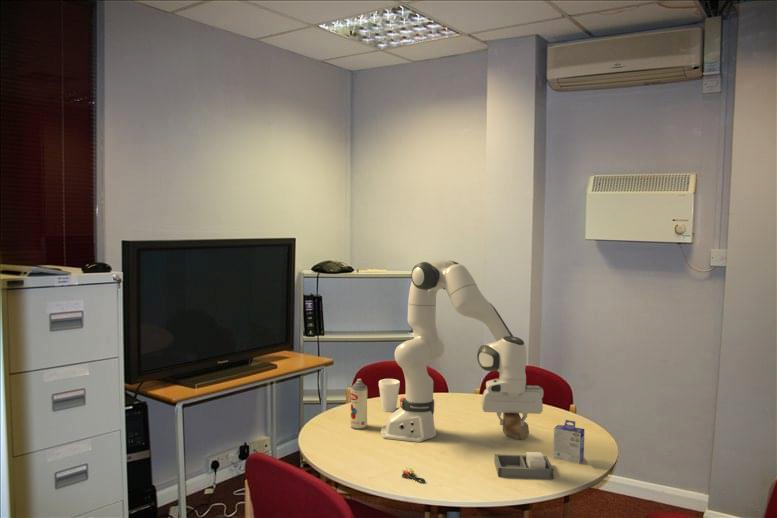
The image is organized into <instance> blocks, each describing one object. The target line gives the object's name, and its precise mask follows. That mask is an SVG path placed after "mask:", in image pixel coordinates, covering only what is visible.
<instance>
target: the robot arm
mask: <svg viewBox="0 0 777 518" xmlns="http://www.w3.org/2000/svg"><path fill="white" fill-rule="evenodd" d="M410 278H411V283H410V287H409V291H408V292H409V293H408V302H407V323H408V325H409V326H410V327H411V328H412V331H413V338H412V339H408V340H405V341H403V342H402V343H400V344H399V345H397V347H396V348H395V350H394V360H395V362H396V364H397V365H398V366H399V367H400V368H401V369H402V372H403V375H404V380H405V381H404V382H405V397H404V396H401V397H400V398H399V402H400V407H399V408H398V409H396V411H393V412H391V414H390V415H389V416H388V417H387V420H386V424H385V425H383V426H382V427H381V428H380V436H381V438H383V439H385V440H387V439H388V440H398V441H405V442H416V443H421V442H423V441H425V440H429V439H433V438H435V437H436V436H437V430H436V425H435V420H434V418H435V417H434V415H435V414H434V413H435V399H434V380H433V378H432V377H431V376H430V375H429V373H428V369H427V366H428V364H431V363H434V362H436V361H437V360H439V359H440V358H441V357H443V355H444V353H445V344H444V342H443V340H442V339H441V337H439V333H438V330H437V324H436V317H437V316H436V314H437V312H436V310H437V309H436V308H437V293H438V291H440V290H445V291H446V293H447V295H448V298H449V301H450V303H451V304H452V307H453V308H454V309H455V311H456V312H457V313H458V314H459V315H462V316H463V317H467V318H471V319H475V320H477V321H479V322H482V323H483V324H484V325H486V327H487V328H488V329H489V332H490V333H491V335H492V337H494V339H495V341H493V342H488V343H485V344H482V345H480V347H479V348H478V350H477V355H476V359H477V363H478V365H479V367H480V368H481V369H482V370H484V371H487V372H495V371H496V372H498V373H499V374H498V375H499V377H497V378H494V379H490V380H487V381H486V382H485V389H484V391H483V393H482V398H481V399H482V400H481V410H482V412H484V413H496V416H497V417H498V420H499V426H503V425H504V423H505V420H504V419H503V418H502V417H501V416H502V414H503V413H519V414H522V417H521V426H524V422H526V421H525V420H526V419H527V417H528V414H529V415H531V414H533V415H537V414H538V415H539V414H542V413H543V412H544V409H543V408H544V407H543V406H544V405H543V398H544V389H543V387H541V386H539V385H530V384H529V385H528V384H527V374H526V367H527V348H526V342H525V341H524V340H523V339H522V338H520V337H517V336H514V335H513V334H512V332H511V331H510V329H509V328H508V325H507V324H506V322H505V321H504V319H503V318H502V317H501V314H500V313H499V312H498V310H497V309H496V308H495V306H493V304H492V303H491V302H490V301H488V300H487V299H486V297H485V296H484V295H483V293H482V292H481V290H480V288H479V287H478V284H477V283H476V280H475V279H474V277H473V276H472V275H471V272H470V271H469V270H468V269H467V267H466V266H464V265H463V264H460V263H459V262H457V261H454V260H442V259H441V260H438V259H437V260H431V261H422V262H419V263H417V264H415V265H414V266H413V267H412V270H411V277H410Z"/></svg>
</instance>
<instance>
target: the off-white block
mask: <svg viewBox="0 0 777 518" xmlns="http://www.w3.org/2000/svg"><path fill="white" fill-rule="evenodd" d="M525 455H526V467H527V468H545V462H546V461H545V459H544V457H543V456H544V455H543V453H542V452H541V451H540V452H539V451H526V453H525Z"/></svg>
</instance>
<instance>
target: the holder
mask: <svg viewBox="0 0 777 518" xmlns="http://www.w3.org/2000/svg"><path fill="white" fill-rule="evenodd" d="M543 457H544V459H545V461H546V462H545V468H527V467H526V454H525V455H524V454H502V453H497V454H496V453H494V457H493V458H494V461H493V462H494V467H495V471H496V473H497V477H498V478H520V479H539V480H540V479H541V480H544V479H546V480H553V479H554V475H555V473H554V471H555V470H554V468H553V466H552V464H551V462H550V460H549V459H548V457H547V455H543Z"/></svg>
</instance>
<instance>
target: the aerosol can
mask: <svg viewBox="0 0 777 518" xmlns="http://www.w3.org/2000/svg"><path fill="white" fill-rule="evenodd" d="M367 427H368V386H367V385H365V383H364V382H363V381H362V379H361V378H357V379H356V381H355V383H353V385H351V388H350V428H351V429H353V430H361V431H362V430H365V429H367Z"/></svg>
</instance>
